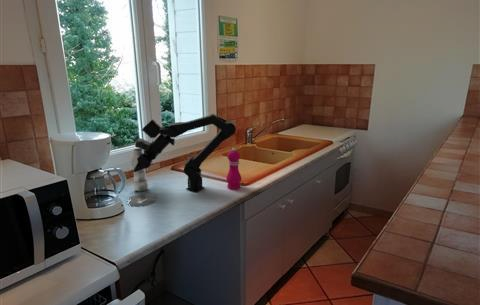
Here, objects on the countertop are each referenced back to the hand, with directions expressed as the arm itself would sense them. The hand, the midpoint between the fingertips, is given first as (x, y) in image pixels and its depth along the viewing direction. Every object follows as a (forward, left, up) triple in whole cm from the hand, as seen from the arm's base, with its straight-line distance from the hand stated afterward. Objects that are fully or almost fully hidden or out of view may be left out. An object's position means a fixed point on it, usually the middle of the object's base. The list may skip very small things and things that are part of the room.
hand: (136, 168), depth 147 cm
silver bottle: (-1, -1, -11) cm, 11 cm away
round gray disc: (-10, +7, -11) cm, 16 cm away
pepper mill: (-35, -28, -11) cm, 46 cm away
